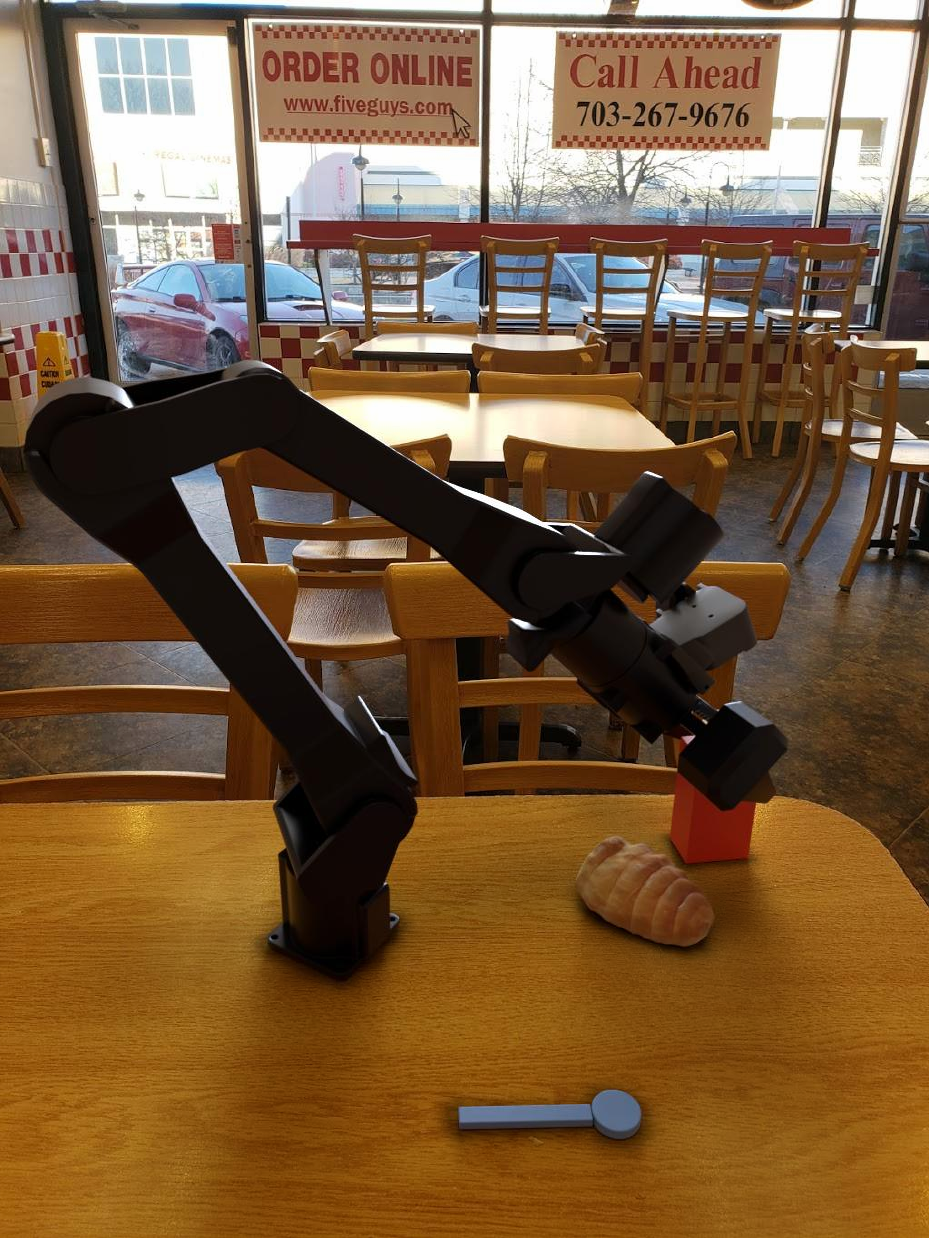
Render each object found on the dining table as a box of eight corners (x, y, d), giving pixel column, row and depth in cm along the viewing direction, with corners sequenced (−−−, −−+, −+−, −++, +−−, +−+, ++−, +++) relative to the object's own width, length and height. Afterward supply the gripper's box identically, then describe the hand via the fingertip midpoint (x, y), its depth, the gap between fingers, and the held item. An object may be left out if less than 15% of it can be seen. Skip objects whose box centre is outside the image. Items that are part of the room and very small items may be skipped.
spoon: (459, 1143, 48) (459, 1134, 48) (457, 1100, 50) (457, 1092, 50) (645, 1139, 48) (646, 1130, 48) (634, 1096, 51) (635, 1088, 51)
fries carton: (685, 864, 70) (702, 727, 66) (669, 837, 74) (683, 706, 69) (748, 858, 71) (768, 723, 67) (729, 832, 74) (747, 702, 70)
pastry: (731, 921, 64) (738, 875, 63) (676, 970, 60) (682, 922, 59) (620, 861, 71) (624, 818, 69) (562, 902, 66) (565, 857, 65)
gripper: (782, 606, 54) (898, 743, 62) (621, 524, 70) (728, 640, 78) (653, 749, 55) (784, 868, 62) (522, 634, 71) (639, 739, 78)
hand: (731, 766), depth 70 cm, fingers open, 9 cm apart
